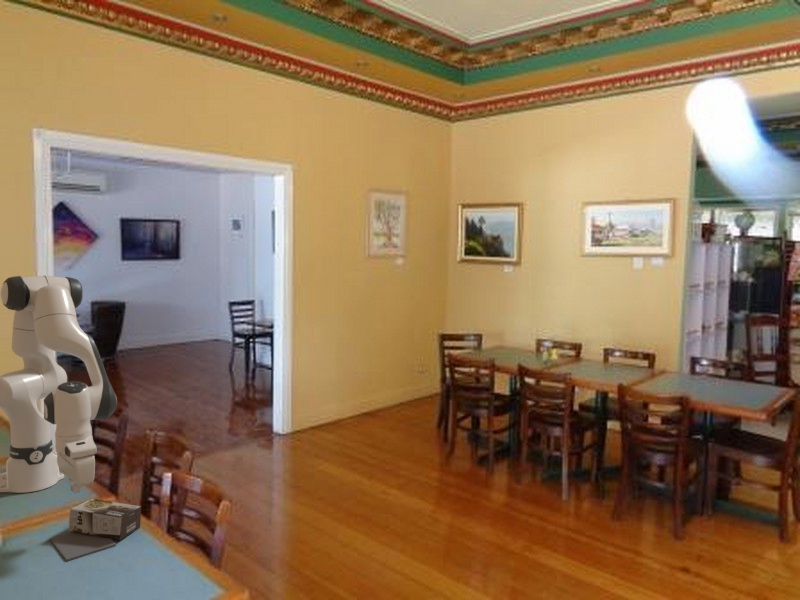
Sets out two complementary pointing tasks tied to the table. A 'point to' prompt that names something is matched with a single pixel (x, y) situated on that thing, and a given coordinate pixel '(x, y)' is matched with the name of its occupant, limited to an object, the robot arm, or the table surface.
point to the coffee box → (105, 518)
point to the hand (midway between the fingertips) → (75, 491)
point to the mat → (80, 544)
